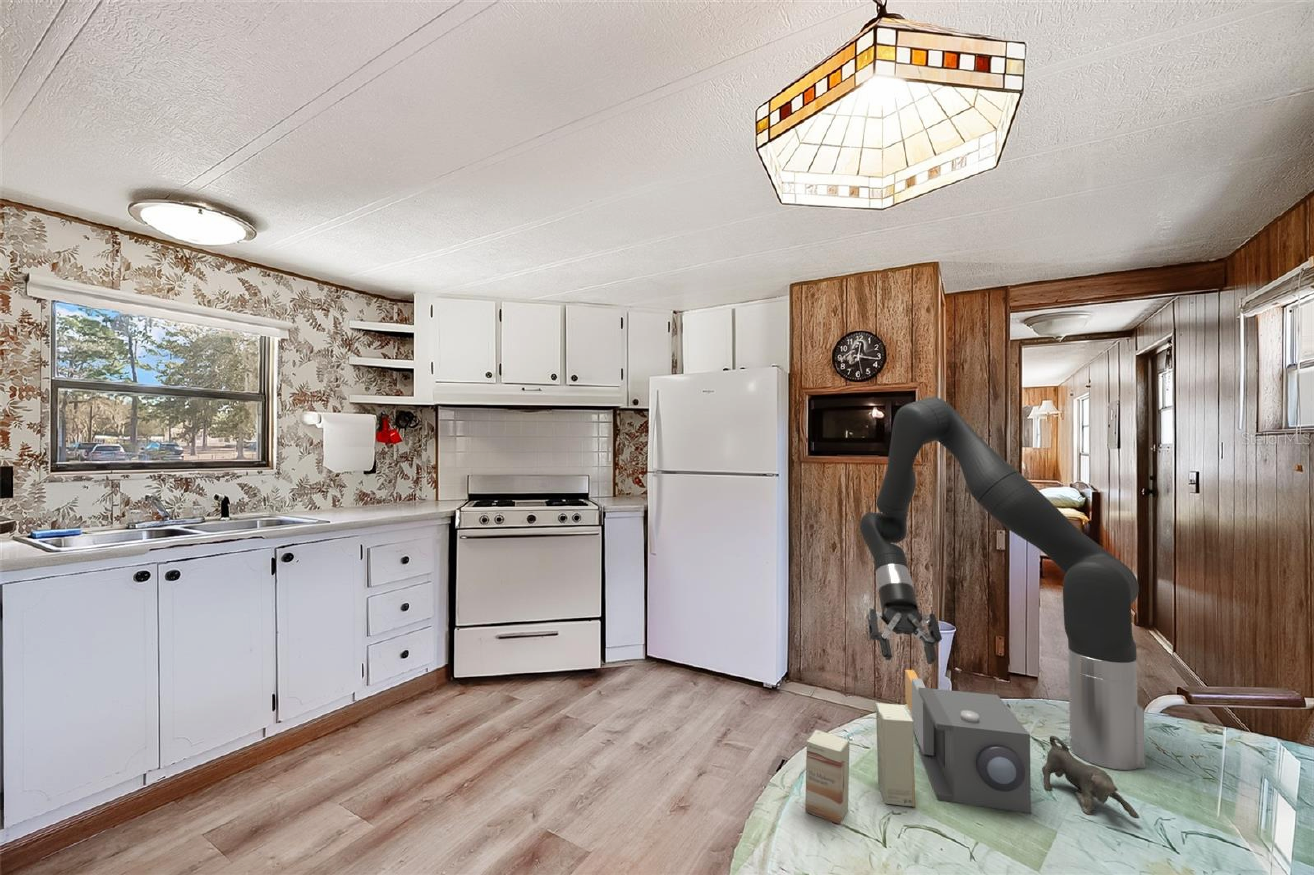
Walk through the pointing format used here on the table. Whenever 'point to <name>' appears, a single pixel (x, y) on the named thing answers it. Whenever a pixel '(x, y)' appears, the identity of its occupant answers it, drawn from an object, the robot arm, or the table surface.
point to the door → (919, 713)
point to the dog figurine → (1081, 778)
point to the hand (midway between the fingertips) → (910, 660)
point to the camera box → (977, 751)
